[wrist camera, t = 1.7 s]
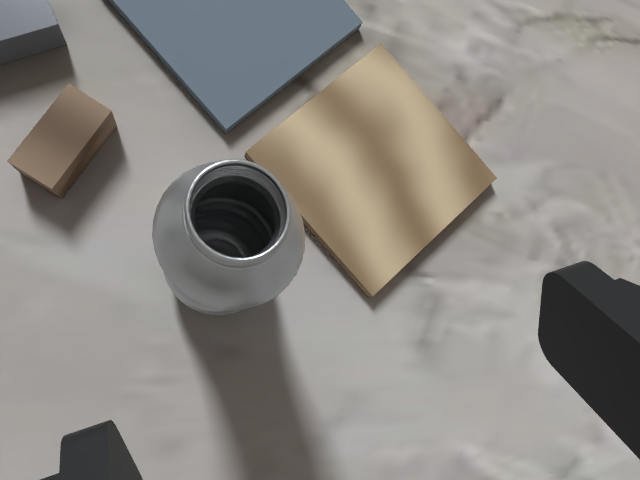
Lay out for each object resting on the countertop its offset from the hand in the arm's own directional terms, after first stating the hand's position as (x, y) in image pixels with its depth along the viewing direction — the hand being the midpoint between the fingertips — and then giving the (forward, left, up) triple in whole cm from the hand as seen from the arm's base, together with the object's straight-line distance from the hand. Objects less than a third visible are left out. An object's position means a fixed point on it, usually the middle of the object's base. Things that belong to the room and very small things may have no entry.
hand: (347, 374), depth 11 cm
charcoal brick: (+2, +24, -30) cm, 39 cm away
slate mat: (+15, +17, -30) cm, 38 cm away
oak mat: (+15, +2, -30) cm, 33 cm away
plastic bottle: (+2, +4, -30) cm, 30 cm away
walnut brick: (0, +16, -30) cm, 34 cm away
